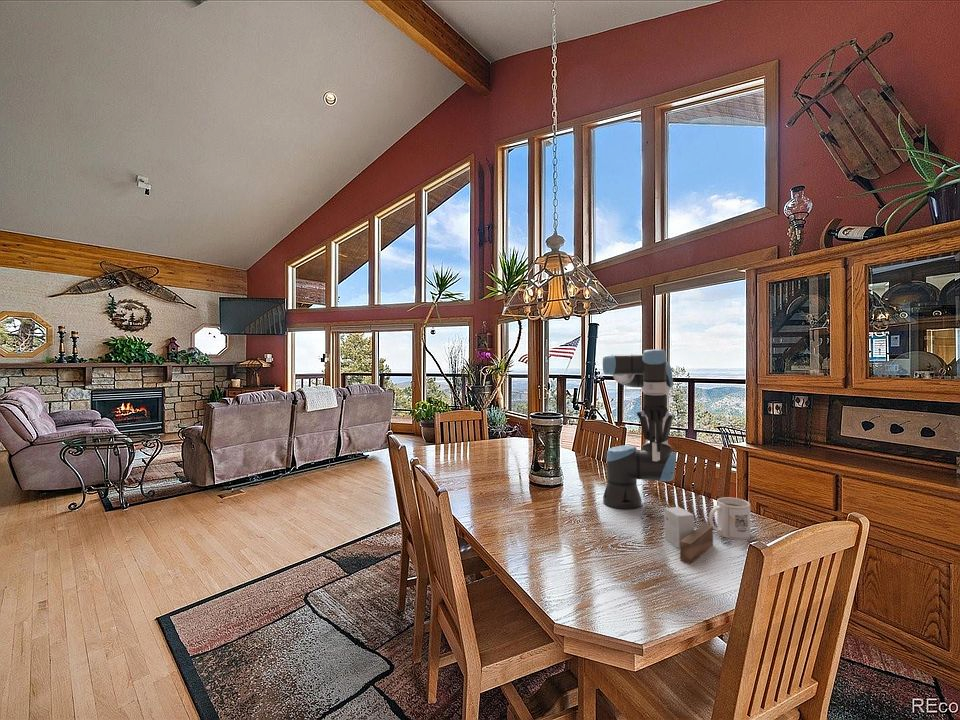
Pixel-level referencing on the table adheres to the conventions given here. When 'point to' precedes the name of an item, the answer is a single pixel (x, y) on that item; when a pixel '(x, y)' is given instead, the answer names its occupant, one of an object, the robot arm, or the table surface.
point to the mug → (732, 518)
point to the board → (696, 543)
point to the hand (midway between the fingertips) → (656, 460)
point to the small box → (677, 524)
